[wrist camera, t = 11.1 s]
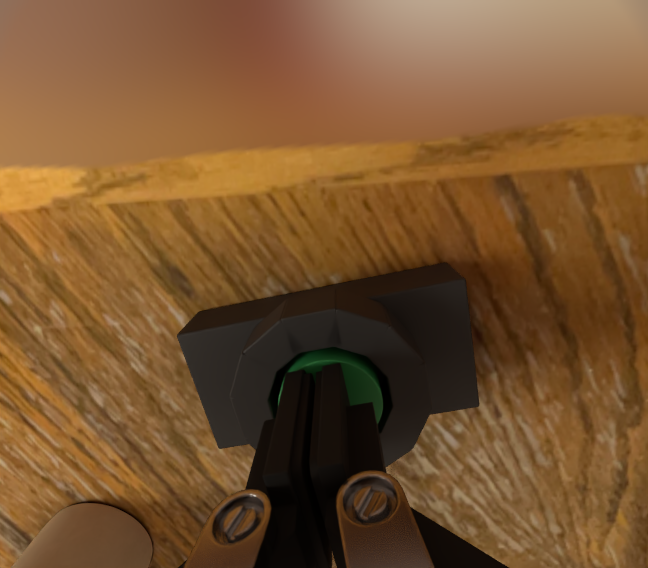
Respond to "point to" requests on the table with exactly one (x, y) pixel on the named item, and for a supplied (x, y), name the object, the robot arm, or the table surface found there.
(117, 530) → the candle
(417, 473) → the table surface
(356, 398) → the arm button
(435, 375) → the dark grey button housing
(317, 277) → the table surface
